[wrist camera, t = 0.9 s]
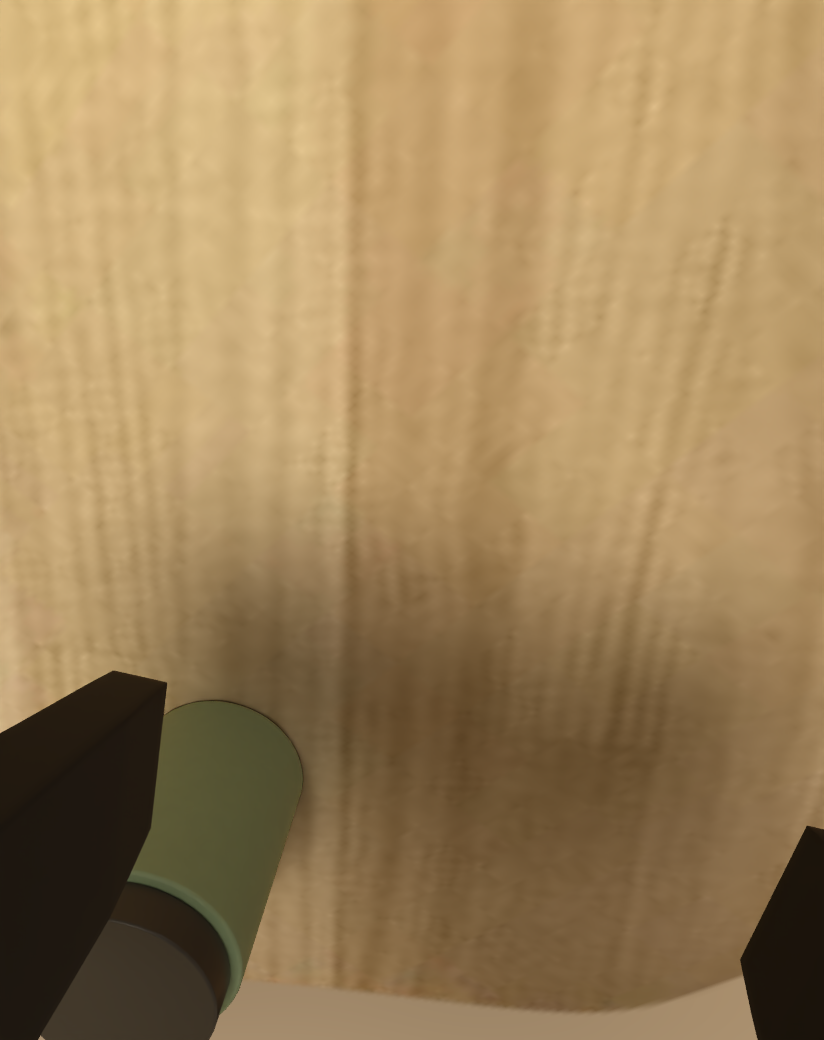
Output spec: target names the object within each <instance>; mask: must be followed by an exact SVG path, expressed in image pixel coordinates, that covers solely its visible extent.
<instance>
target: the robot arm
mask: <svg viewBox="0 0 824 1040" xmlns="http://www.w3.org/2000/svg"><path fill="white" fill-rule="evenodd" d="M166 689H167V682H163V681H158V680H154V679H149V678H145V677H140V676H136V675H131V674H127V673H122V672H118V671H111V672H110V673H108V674H106V675H104V676H102V677H100V678H98V679H96V680H94V681H93V682H91V683H89V684H87V685H85V686H84V687H82V688H80V689H78V690H76V691H75V692H73V693H71V694H69V695H68V696H66V697H64V698H62V699H61V700H59V701H57V702H55V703H54V704H52V705H50V706H48V707H46V708H45V709H43V710H41V711H39V712H38V713H36V714H34V715H32V716H30V717H29V718H27V719H25V720H23V721H22V722H20V723H18V724H16V725H14V726H13V727H11V728H9V729H7V730H5V731H3V732H2V733H0V1040H38V1039H39V1037H40V1035H41V1034H42V1032H43V1030H44V1029H45V1027H46V1025H47V1024H48V1022H49V1020H50V1018H51V1017H52V1015H53V1013H54V1012H55V1010H56V1008H57V1007H58V1005H59V1003H60V1002H61V1000H62V998H63V997H64V995H65V993H66V992H67V990H68V988H69V987H70V985H71V983H72V982H73V980H74V978H75V976H76V975H77V973H78V971H79V970H80V968H81V966H82V965H83V963H84V961H85V960H86V958H87V956H88V954H89V953H90V951H91V949H92V948H93V946H94V944H95V943H96V941H97V939H98V937H99V936H100V934H101V932H102V931H103V929H104V927H105V925H106V924H107V922H108V920H109V918H110V917H111V914H112V912H113V910H114V908H115V906H116V904H117V902H118V900H119V897H120V895H121V893H122V891H123V889H124V887H125V885H126V882H127V880H128V878H129V876H130V874H131V872H132V869H133V867H134V865H135V863H136V860H137V858H138V856H139V854H140V851H141V849H142V847H143V845H144V843H145V840H146V838H147V836H148V834H149V831H150V829H151V824H152V815H153V806H154V797H155V788H156V779H157V770H158V761H159V752H160V743H161V734H162V725H163V716H164V707H165V698H166ZM740 961H741V966H742V971H743V976H744V980H745V985H746V990H747V995H748V999H749V1004H750V1009H751V1014H752V1018H753V1022H754V1026H755V1030H756V1035H757V1038H758V1040H824V829H819V828H815V827H810V826H807V827H806V829H805V831H804V833H803V835H802V837H801V839H800V841H799V843H798V845H797V847H796V849H795V851H794V853H793V855H792V857H791V859H790V861H789V863H788V865H787V867H786V869H785V871H784V873H783V875H782V877H781V879H780V881H779V883H778V885H777V887H776V889H775V891H774V893H773V895H772V897H771V899H770V901H769V903H768V905H767V907H766V909H765V911H764V913H763V915H762V917H761V919H760V921H759V923H758V925H757V927H756V929H755V931H754V933H753V935H752V937H751V939H750V941H749V943H748V945H747V947H746V949H745V951H744V953H743V955H742V957H741V959H740Z"/></svg>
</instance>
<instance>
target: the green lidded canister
mask: <svg viewBox="0 0 824 1040" xmlns="http://www.w3.org/2000/svg"><path fill="white" fill-rule="evenodd" d="M302 785H303V773H302V767H301V763H300V760H299V757H298V754H297V752H296V750H295V748H294V746H293V745H292V743H291V742H290V740H289V739H288V737H287V736H286V735H285V734H284V733H283V731H282V730H281V729H280V728H279V727H277V726H276V725H275V724H274V723H273V722H272V721H270V720H269V719H267V718H266V717H265V716H263V715H261V714H259V713H257V712H256V711H253V710H251V709H249V708H246V707H244V706H240V705H237V704H233V703H228V702H221V701H202V702H196V703H191V704H187V705H184V706H181V707H179V708H177V709H175V710H172V711H171V712H169V713H168V714H166V715H164V716H163V725H162V734H161V743H160V752H159V761H158V770H157V779H156V788H155V797H154V806H153V815H152V824H151V829H150V831H149V834H148V836H147V838H146V840H145V843H144V845H143V847H142V849H141V851H140V854H139V856H138V858H137V860H136V863H135V865H134V867H133V869H132V872H131V874H130V876H129V878H128V880H127V882H126V885H125V887H124V889H123V891H122V893H121V895H120V897H119V900H118V902H117V904H116V906H115V908H114V910H113V912H112V914H111V917H110V918H109V920H108V922H107V924H106V925H105V927H104V929H103V931H102V932H101V934H100V936H99V937H98V939H97V941H96V943H95V944H94V946H93V948H92V949H91V951H90V953H89V954H88V956H87V958H86V960H85V961H84V963H83V965H82V966H81V968H80V970H79V971H78V973H77V975H76V976H75V978H74V980H73V982H72V983H71V985H70V987H69V988H68V990H67V992H66V993H65V995H64V997H63V998H62V1000H61V1002H60V1003H59V1005H58V1007H57V1008H56V1010H55V1012H54V1013H53V1015H52V1017H51V1018H50V1020H49V1022H48V1024H47V1025H46V1027H45V1029H44V1030H43V1032H42V1034H41V1036H42V1037H43V1038H44V1039H45V1040H209V1039H210V1037H211V1035H212V1033H213V1032H214V1029H215V1026H216V1023H217V1020H218V1017H219V1015H220V1014H221V1013H222V1012H223V1011H224V1010H225V1009H226V1008H227V1007H228V1006H229V1005H230V1003H231V1002H232V1001H233V1000H234V998H235V996H236V994H237V993H238V991H239V988H240V985H241V982H242V979H243V976H244V973H245V969H246V966H247V963H248V960H249V957H250V954H251V950H252V947H253V944H254V941H255V938H256V934H257V931H258V928H259V925H260V922H261V919H262V915H263V912H264V909H265V906H266V903H267V900H268V896H269V893H270V890H271V887H272V884H273V880H274V877H275V874H276V871H277V868H278V865H279V861H280V858H281V855H282V852H283V849H284V846H285V842H286V839H287V836H288V833H289V830H290V827H291V823H292V820H293V817H294V814H295V811H296V807H297V804H298V801H299V798H300V795H301V791H302Z"/></svg>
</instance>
